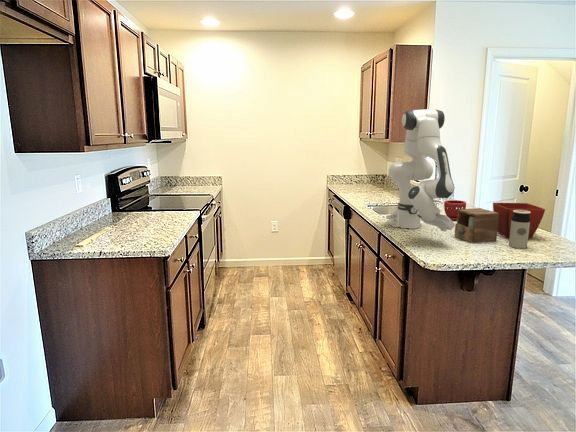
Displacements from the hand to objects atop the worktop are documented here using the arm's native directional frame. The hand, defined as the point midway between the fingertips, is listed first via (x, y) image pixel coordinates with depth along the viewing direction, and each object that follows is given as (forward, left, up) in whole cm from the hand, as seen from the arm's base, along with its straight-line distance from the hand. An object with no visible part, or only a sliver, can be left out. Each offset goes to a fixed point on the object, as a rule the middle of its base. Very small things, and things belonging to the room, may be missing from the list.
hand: (444, 230), depth 208 cm
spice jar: (0, +17, -5) cm, 18 cm away
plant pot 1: (-44, +38, -6) cm, 58 cm away
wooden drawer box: (0, +19, -6) cm, 20 cm away
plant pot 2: (0, +44, -6) cm, 45 cm away
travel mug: (+18, +29, -6) cm, 35 cm away
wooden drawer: (0, +17, -5) cm, 18 cm away
